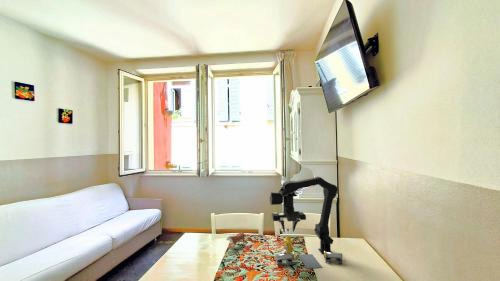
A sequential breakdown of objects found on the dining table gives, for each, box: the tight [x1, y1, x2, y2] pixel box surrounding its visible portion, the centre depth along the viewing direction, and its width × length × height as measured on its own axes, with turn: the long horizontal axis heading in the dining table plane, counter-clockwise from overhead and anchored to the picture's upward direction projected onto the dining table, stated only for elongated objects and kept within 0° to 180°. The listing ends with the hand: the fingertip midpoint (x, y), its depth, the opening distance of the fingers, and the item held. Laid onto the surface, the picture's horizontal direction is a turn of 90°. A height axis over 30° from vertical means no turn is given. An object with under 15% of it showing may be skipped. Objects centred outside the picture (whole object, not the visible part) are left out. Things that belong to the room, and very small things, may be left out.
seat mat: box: [298, 253, 323, 270], centre depth 125 cm, size 14×8×1 cm, turn 6°
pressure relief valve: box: [277, 234, 294, 254], centre depth 131 cm, size 6×12×10 cm, turn 138°
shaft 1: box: [275, 252, 297, 266], centre depth 124 cm, size 10×4×5 cm, turn 96°
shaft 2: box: [323, 251, 343, 265], centre depth 125 cm, size 9×4×5 cm, turn 76°
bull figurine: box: [225, 231, 245, 250], centre depth 144 cm, size 4×13×8 cm, turn 133°
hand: (288, 231), depth 134 cm, fingers open, 5 cm apart
